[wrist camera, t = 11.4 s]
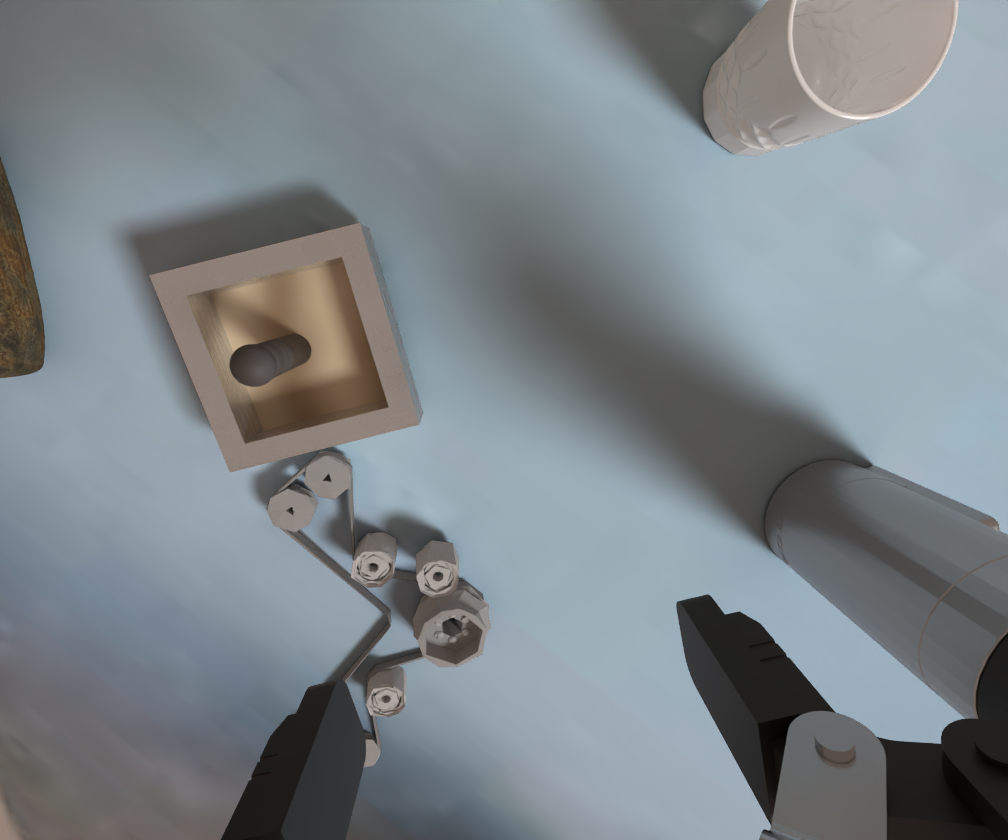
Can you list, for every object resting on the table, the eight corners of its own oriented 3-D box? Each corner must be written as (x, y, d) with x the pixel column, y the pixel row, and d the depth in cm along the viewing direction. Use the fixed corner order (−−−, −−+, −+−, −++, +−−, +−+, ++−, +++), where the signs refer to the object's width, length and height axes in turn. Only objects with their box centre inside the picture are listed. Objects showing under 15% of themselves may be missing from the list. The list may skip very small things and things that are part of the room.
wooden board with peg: (361, 232, 33) (323, 212, 24) (414, 410, 36) (398, 450, 27) (176, 278, 33) (70, 276, 24) (246, 453, 36) (175, 507, 27)
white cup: (710, 186, 34) (809, 146, 24) (676, 56, 32) (769, -45, 22) (824, 139, 34) (970, 80, 24) (798, 5, 31) (945, -119, 22)
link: (369, 228, 32) (359, 222, 29) (423, 412, 35) (419, 424, 32) (177, 276, 32) (149, 275, 29) (249, 456, 35) (229, 472, 32)
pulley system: (482, 436, 38) (267, 448, 36) (489, 459, 33) (243, 474, 32) (490, 730, 46) (313, 752, 44) (496, 780, 41) (300, 807, 39)
